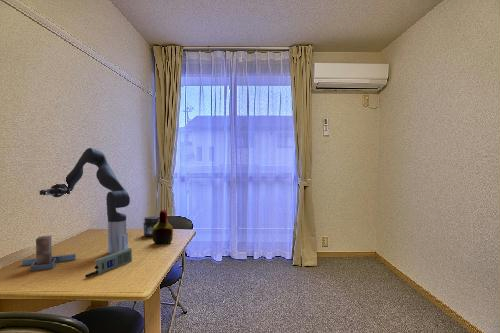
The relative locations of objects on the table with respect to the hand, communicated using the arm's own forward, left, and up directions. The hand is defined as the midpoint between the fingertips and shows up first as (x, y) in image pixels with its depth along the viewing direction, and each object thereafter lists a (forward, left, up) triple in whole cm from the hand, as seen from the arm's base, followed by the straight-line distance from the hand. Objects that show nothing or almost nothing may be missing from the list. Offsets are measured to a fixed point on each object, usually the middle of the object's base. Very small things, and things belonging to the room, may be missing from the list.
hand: (52, 193), depth 166 cm
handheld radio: (-41, +30, -32) cm, 60 cm away
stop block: (-9, +25, -32) cm, 42 cm away
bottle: (-56, -12, -32) cm, 66 cm away
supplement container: (-45, -31, -32) cm, 64 cm away
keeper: (-10, +23, -32) cm, 41 cm away
